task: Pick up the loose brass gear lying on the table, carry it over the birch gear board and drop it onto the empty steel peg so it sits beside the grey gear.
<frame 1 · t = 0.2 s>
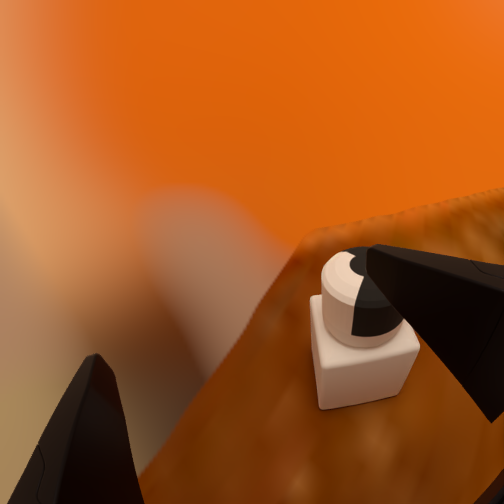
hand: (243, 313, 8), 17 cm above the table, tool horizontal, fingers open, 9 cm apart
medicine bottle: (353, 372, 22), on the table
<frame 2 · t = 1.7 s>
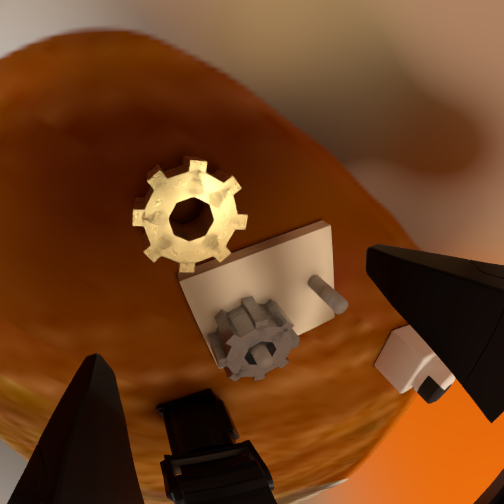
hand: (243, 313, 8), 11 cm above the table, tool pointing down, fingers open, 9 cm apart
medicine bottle: (395, 342, 37), on the table
brass gear: (184, 205, 17), on the table
birch gear board: (265, 296, 23), on the table
grey gear: (246, 329, 22), resting on birch gear board
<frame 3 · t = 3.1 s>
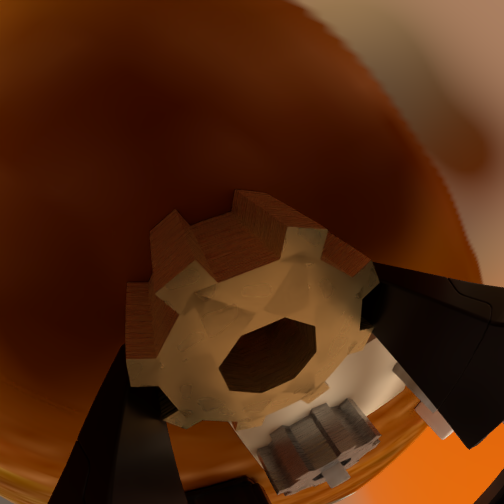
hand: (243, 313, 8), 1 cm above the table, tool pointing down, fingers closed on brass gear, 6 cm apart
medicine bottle: (437, 383, 28), on the table
brass gear: (232, 293, 9), on the table, touching gripper
birch gear board: (335, 388, 14), on the table
grey gear: (308, 432, 13), resting on birch gear board
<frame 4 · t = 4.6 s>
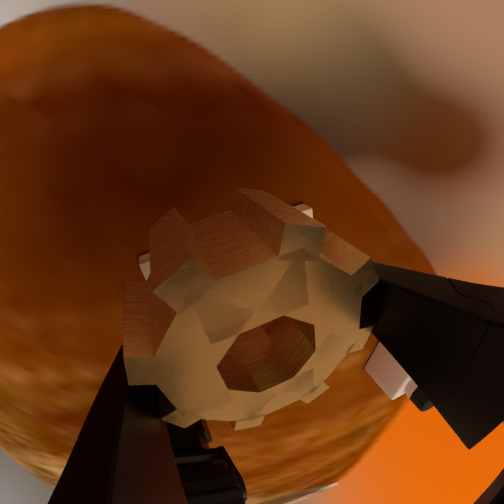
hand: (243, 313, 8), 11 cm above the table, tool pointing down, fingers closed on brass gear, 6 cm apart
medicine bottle: (387, 344, 35), on the table
brass gear: (231, 292, 9), point 10 cm above the table, touching gripper
birch gear board: (239, 287, 21), on the table
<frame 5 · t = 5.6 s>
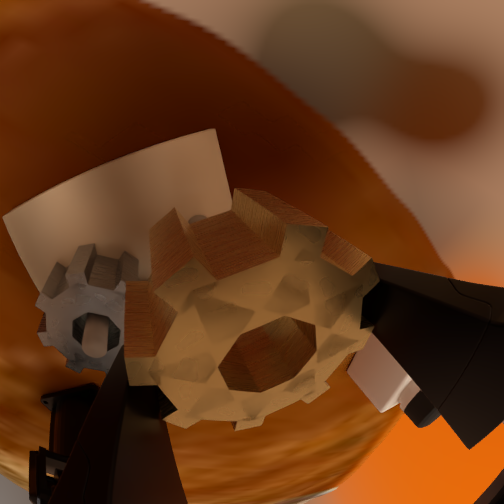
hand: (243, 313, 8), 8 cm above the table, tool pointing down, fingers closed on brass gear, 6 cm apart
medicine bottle: (376, 342, 28), on the table
brass gear: (232, 292, 9), point 7 cm above the table, touching gripper
birch gear board: (130, 251, 14), on the table
grey gear: (101, 298, 13), resting on birch gear board
when the fingers open (7 cm above the table, at t = 6.3 s): brass gear drops 5 cm, resting on birch gear board.
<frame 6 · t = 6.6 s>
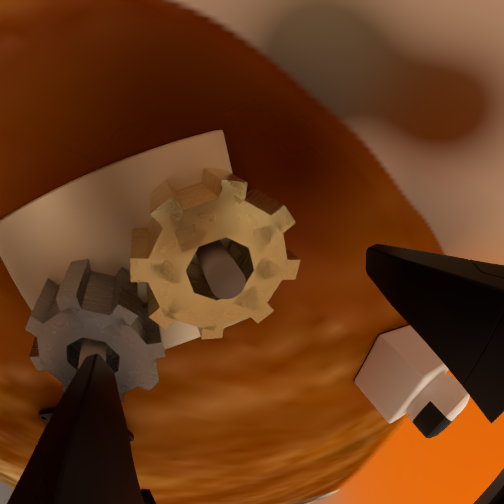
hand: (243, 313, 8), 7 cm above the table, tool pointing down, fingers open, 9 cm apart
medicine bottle: (384, 351, 27), on the table
brass gear: (204, 239, 12), point 1 cm above the table, touching birch gear board
birch gear board: (128, 265, 13), on the table
grey gear: (97, 317, 12), resting on birch gear board
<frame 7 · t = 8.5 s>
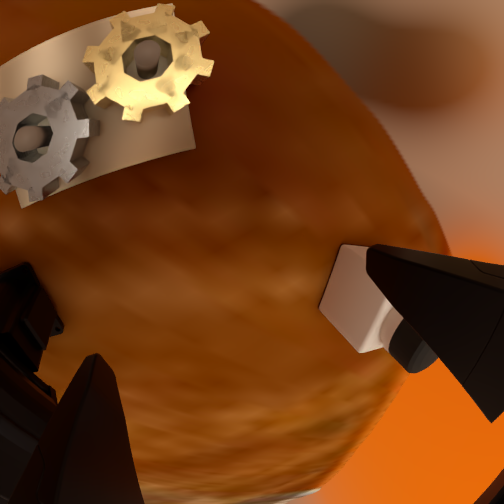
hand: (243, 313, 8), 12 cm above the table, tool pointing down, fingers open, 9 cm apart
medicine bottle: (353, 276, 27), on the table
brass gear: (147, 70, 12), point 1 cm above the table, touching birch gear board
birch gear board: (87, 99, 12), on the table
grey gear: (50, 135, 12), resting on birch gear board
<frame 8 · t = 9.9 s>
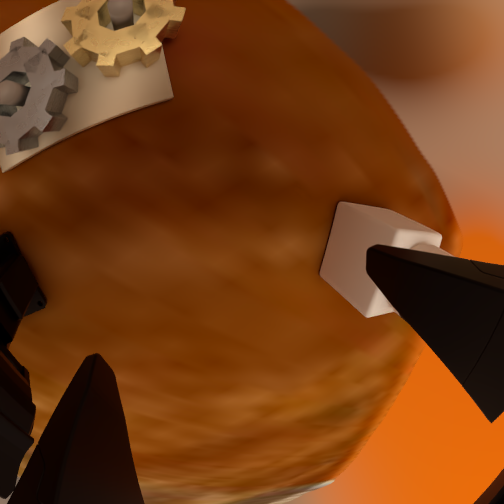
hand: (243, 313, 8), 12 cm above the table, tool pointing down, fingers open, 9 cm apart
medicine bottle: (354, 239, 25), on the table
brass gear: (124, 29, 10), point 1 cm above the table, touching birch gear board
birch gear board: (67, 63, 11), on the table
grey gear: (31, 98, 10), resting on birch gear board
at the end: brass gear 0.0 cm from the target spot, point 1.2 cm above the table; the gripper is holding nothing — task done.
